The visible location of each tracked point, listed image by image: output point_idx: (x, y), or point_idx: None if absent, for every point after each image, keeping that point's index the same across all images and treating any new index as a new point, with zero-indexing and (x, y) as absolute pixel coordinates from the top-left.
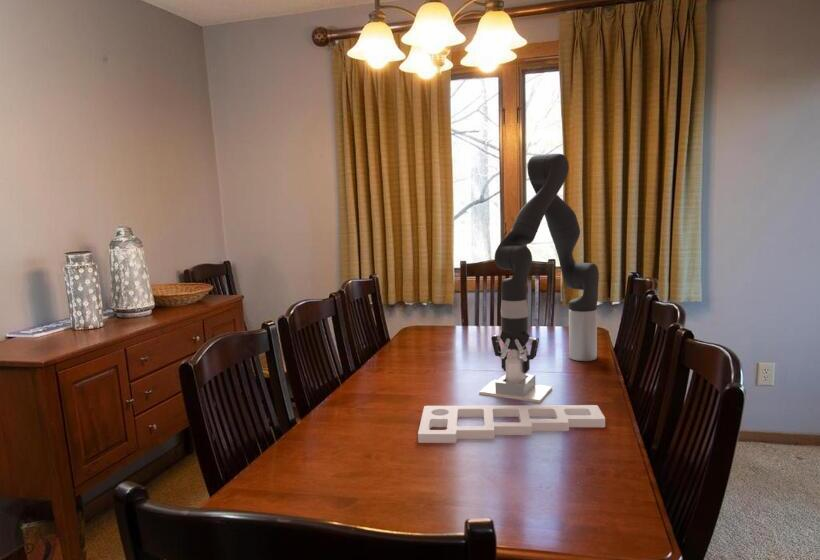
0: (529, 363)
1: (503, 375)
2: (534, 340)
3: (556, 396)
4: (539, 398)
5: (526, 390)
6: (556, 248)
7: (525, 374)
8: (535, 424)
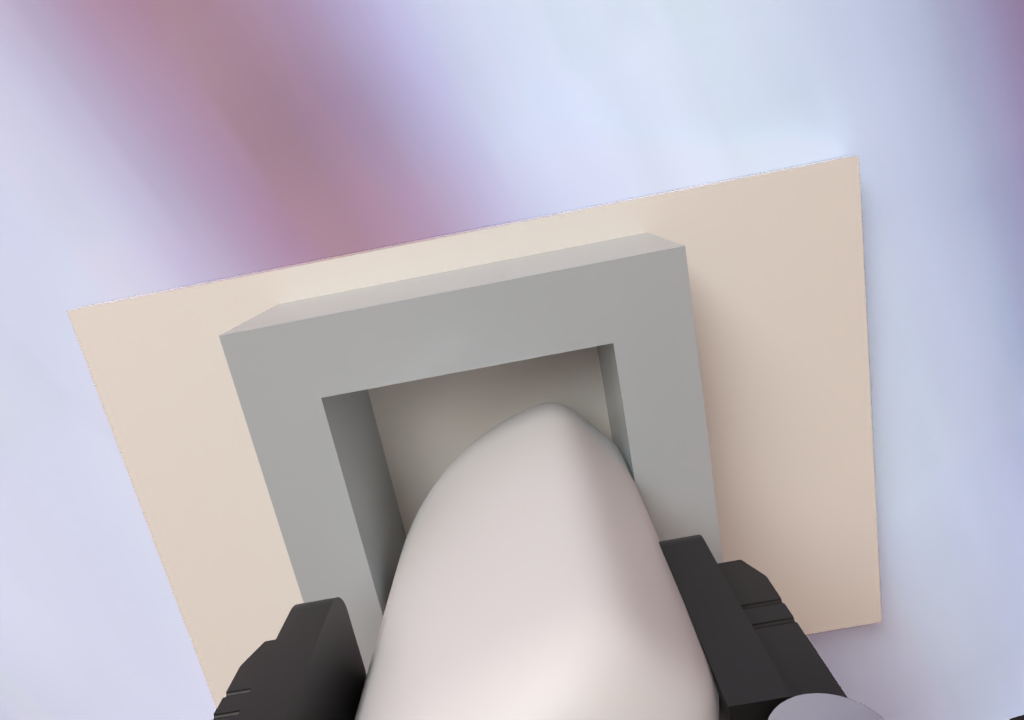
0: (814, 648)
1: (282, 526)
2: None
3: (962, 355)
4: (862, 587)
5: None
6: None
7: (647, 515)
8: None
